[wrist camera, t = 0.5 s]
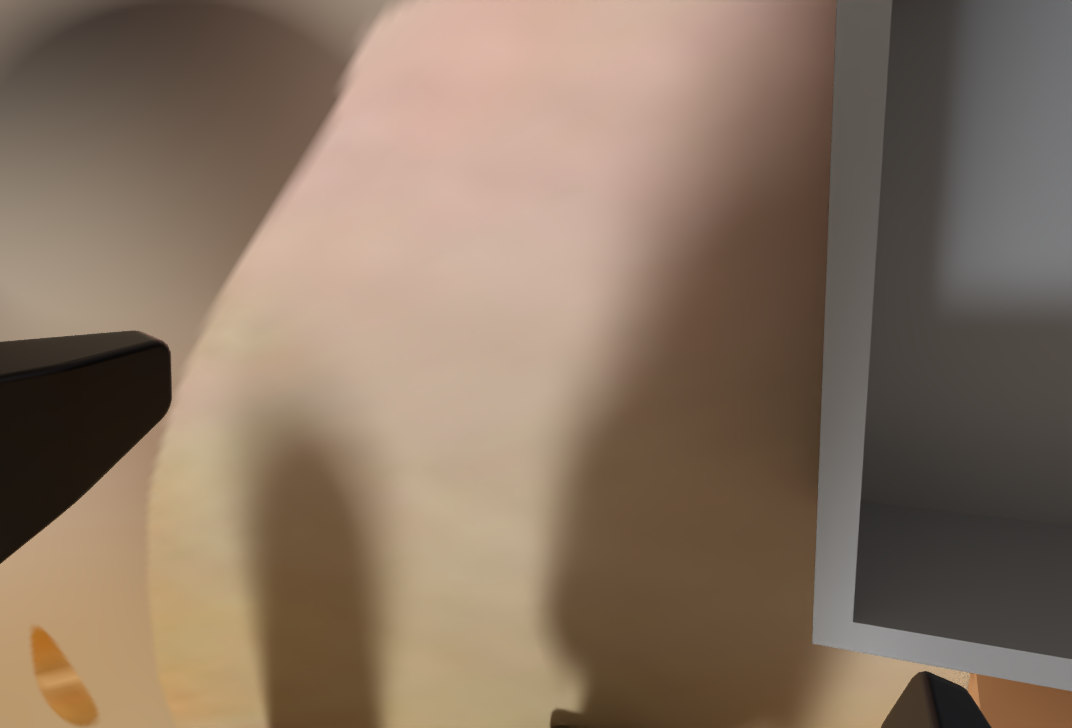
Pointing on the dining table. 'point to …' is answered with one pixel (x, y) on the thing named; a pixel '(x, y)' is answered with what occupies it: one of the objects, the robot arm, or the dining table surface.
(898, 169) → the grey open box
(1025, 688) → the orange crate
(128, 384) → the robot arm
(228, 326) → the dining table surface
